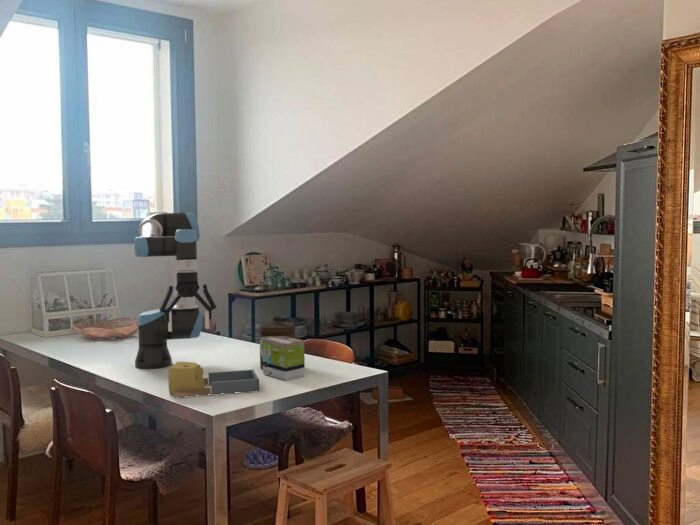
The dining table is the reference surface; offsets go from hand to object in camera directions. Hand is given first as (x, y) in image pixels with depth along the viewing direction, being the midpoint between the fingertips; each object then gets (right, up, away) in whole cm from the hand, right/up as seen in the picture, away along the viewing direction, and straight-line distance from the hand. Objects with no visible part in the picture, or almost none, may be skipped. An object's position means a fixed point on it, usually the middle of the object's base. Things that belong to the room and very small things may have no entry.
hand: (188, 330), depth 258 cm
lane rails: (+1, -22, 0) cm, 22 cm away
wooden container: (+29, -19, +36) cm, 50 cm away
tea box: (+33, -20, +22) cm, 44 cm away
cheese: (-1, -23, 0) cm, 23 cm away
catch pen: (+16, -22, +4) cm, 27 cm away
